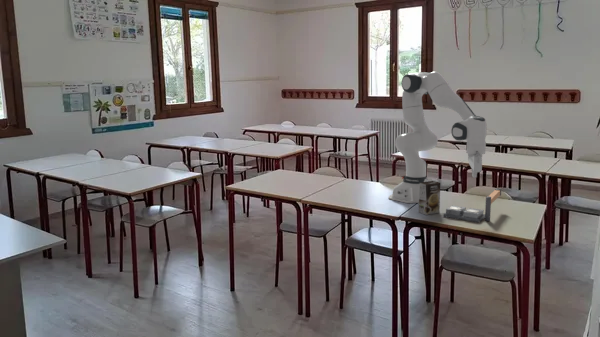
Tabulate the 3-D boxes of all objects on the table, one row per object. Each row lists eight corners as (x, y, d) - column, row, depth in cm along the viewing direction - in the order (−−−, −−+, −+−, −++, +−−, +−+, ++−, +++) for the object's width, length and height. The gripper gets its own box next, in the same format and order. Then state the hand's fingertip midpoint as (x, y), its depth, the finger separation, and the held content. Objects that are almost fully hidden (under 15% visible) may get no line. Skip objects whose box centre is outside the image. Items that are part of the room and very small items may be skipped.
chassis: (443, 216, 257) (443, 208, 257) (451, 211, 265) (451, 204, 264) (478, 222, 246) (479, 214, 246) (485, 217, 254) (486, 209, 253)
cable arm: (490, 221, 247) (491, 198, 244) (483, 220, 248) (484, 197, 246) (500, 209, 266) (502, 187, 264) (494, 208, 268) (495, 186, 266)
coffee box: (426, 215, 260) (427, 184, 257) (418, 212, 266) (418, 182, 263) (440, 212, 264) (441, 182, 261) (431, 209, 270) (432, 180, 267)
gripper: (485, 153, 237) (484, 182, 240) (479, 146, 257) (478, 172, 260) (471, 153, 239) (470, 182, 242) (466, 145, 258) (465, 172, 261)
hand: (474, 177), depth 251 cm, fingers closed
